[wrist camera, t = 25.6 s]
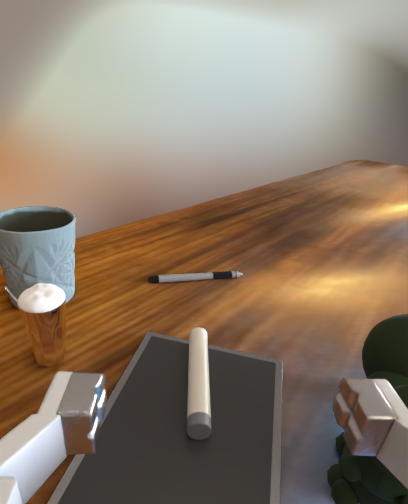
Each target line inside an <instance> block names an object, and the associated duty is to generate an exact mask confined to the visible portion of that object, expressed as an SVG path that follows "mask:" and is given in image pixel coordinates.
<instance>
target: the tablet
mask: <svg viewBox="0 0 408 504" xmlns="http://www.w3.org/2000/svg"><path fill="white" fill-rule="evenodd" d="M188 363H189V340H186V339H181V338H177V337H172V336H167V335H163V334H158V333H154V332H149V331H148V332H147V334H146V336H145V337H144V339H143V341H142V342H141V344H140V346H139V348H138V349H137V351H136V353H135V354H134V356H133V358H132V359H131V361H130V363H129V365H128V366H127V368H126V370H125V371H124V373H123V375H122V377H121V378H120V380H119V382H118V383H117V385H116V387H115V388H114V390H113V392H112V394H111V395H110V397H109V399H108V400H107V402H106V410H105V415H104V420H103V422H102V423H101V424H100V425H99V427H100V436H99V440H98V444H97V448H96V452H95V454H78V455H75V457H74V458H73V460H72V462H71V463H70V465H69V467H68V469H67V470H66V472H65V474H64V475H63V477H62V479H61V480H60V482H59V484H58V486H57V487H56V489H55V491H54V492H53V494H52V496H51V497H50V499H49V501H48V503H47V504H280V485H281V430H282V375H283V361H282V360H278V359H273V358H268V357H264V356H259V355H255V354H250V353H245V352H241V351H236V350H232V349H227V348H223V347H218V346H213V345H209V344H208V363H209V385H210V407H211V430H212V431H211V434H210V436H209V437H207V438H205V439H202V440H196V439H192V438H190V437H189V436H188V434H187V399H188Z"/></svg>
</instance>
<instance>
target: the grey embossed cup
mask: <svg viewBox="0 0 408 504" xmlns="http://www.w3.org/2000/svg"><path fill="white" fill-rule="evenodd" d="M75 221H76V218H75V216H74V214H73V213H72V212H70V211H68V210H65V209H61V208H57V207H48V206H31V207H21V208H15V209H10V210H6V211H3V212H1V213H0V262H1V267H2V270H3V274H4V275H5V276H6V280H7V281H6V283H7V288H8V289H9V291H10V292H11V293H12V294H13V295H14V296H15V298H16V299H17V300H18V298H19V296H20V295H21V294H22V292H23V291H25V290H26V289H28V288H31V287H32V286H34V285H35V284H37V283H43V284H54V285H56V286H57V287H59V288H61V289H62V290H63V291H64V293H65V303H67V302H68V301H69V300H70V299H71V298H72V297H73V295H74V292H75V276H74V269H75V252H74V251H73V250H74V249H75V248H74V245H75ZM9 296H10V300H11V302H12V304H13V305H14V306H15V307H16V308H18V309H19V307H18V304H17V302H16V301H15V300H14V298H13V297H12V296H11V295H10V294H9Z"/></svg>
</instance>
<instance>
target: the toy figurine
mask: <svg viewBox="0 0 408 504" xmlns="http://www.w3.org/2000/svg"><path fill="white" fill-rule="evenodd" d="M362 361H363V367H364V371H365V374H366V376H367V378H366V379H386V380H387V381H388V382H389V383H390V384H391V386H392V387H393V389H394V390H395V391H396V393H397V394H398V396H399V397H400V399H401V400H402V402H403V403H404V405H405V406H406V407H407V409H408V314H402V315H397V316H393V317H391V318H388V319H386V320H383V321H381V322H380V323H378V324H377V325H376V326H375V327H374V328H373V329H372V330H371V331H370V333H369V335H368V336H367V339H366V341H365V343H364V347H363V351H362ZM343 435H344V432H343V433H342V434H340V435H339V436H338V437H337V438H336V445H337V451H338V452H339V453H340V455H342V457H341V458H340V460H339V464H334V465H332V466H331V467H330V468H329V470H328V471H327V475H328V483H329V484H330V486H331V488H332V494H331V496H332V498H333V500H334V502H335V503H336V504H358V502H359V503H360V504H408V489H407V488H406V487H405V486H404V485H403V484H402V483H401V482H400V481H399V480H398V479H397V478H396V477H395V476H394V475H393V474H392V473H391V472H390V471H389V470H388V469H387V468H386V467H385V466H384V465H383V464H382V463H381V462H380V461H379V460H378V459H377V458H376V457H377V456H359V455H351V452H350V450H349V448H348V446H347V444H346V441H345V439H344V437H343Z"/></svg>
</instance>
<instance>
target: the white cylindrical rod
mask: <svg viewBox="0 0 408 504" xmlns="http://www.w3.org/2000/svg"><path fill="white" fill-rule="evenodd" d="M211 431H212V430H211V407H210V385H209V363H208V340H207V332H206V330H205V329H203V328H199V327H197V328H194V329H192V330H191V331H190V333H189V363H188V399H187V434H188V436H189V437H190V438H192V439H196V440H202V439H205V438H207V437H209V436H210V434H211Z"/></svg>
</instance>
